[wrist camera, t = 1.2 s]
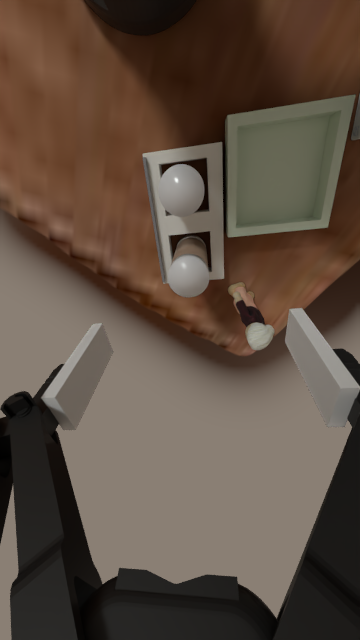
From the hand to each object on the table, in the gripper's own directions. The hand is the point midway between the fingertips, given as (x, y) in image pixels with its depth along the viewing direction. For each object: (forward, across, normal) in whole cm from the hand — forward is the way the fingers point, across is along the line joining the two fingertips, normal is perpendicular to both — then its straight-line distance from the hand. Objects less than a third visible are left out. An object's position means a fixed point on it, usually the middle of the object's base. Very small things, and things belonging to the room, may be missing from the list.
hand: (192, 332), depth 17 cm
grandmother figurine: (+21, +7, -8) cm, 23 cm away
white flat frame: (+20, -1, +4) cm, 21 cm away
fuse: (+21, -1, +8) cm, 22 cm away
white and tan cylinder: (+20, -1, 0) cm, 21 cm away
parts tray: (+21, +10, +8) cm, 24 cm away
